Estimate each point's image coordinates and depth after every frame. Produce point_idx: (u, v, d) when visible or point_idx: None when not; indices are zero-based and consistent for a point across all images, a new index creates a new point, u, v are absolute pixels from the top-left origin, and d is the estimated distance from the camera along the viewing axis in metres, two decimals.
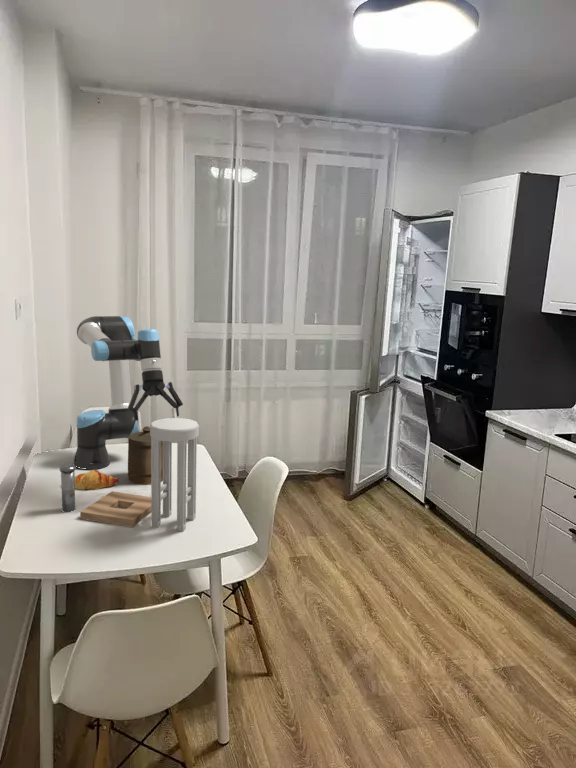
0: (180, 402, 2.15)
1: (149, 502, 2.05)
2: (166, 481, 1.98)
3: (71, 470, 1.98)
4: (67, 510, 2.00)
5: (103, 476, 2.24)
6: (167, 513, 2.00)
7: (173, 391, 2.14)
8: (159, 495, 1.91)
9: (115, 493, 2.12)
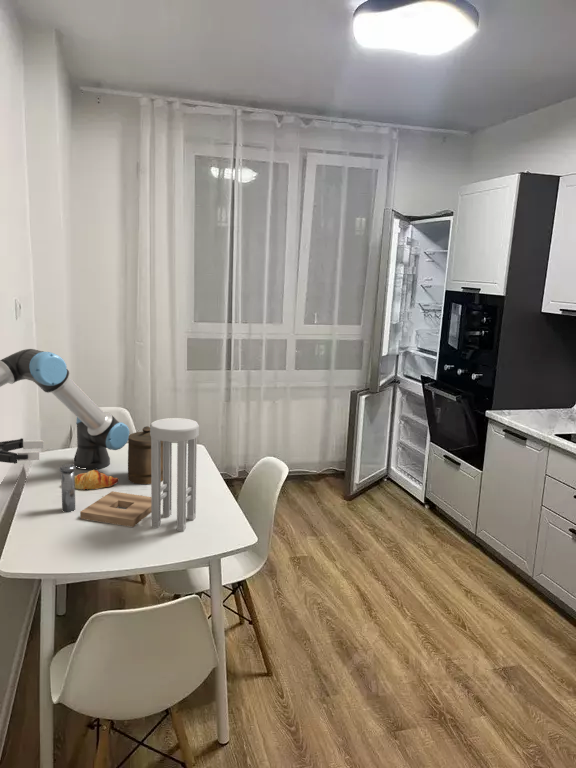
0: None
1: (149, 502, 2.05)
2: (166, 481, 1.98)
3: (71, 470, 1.98)
4: (67, 510, 2.00)
5: (103, 476, 2.23)
6: (167, 513, 2.00)
7: None
8: (159, 495, 1.91)
9: (115, 493, 2.12)
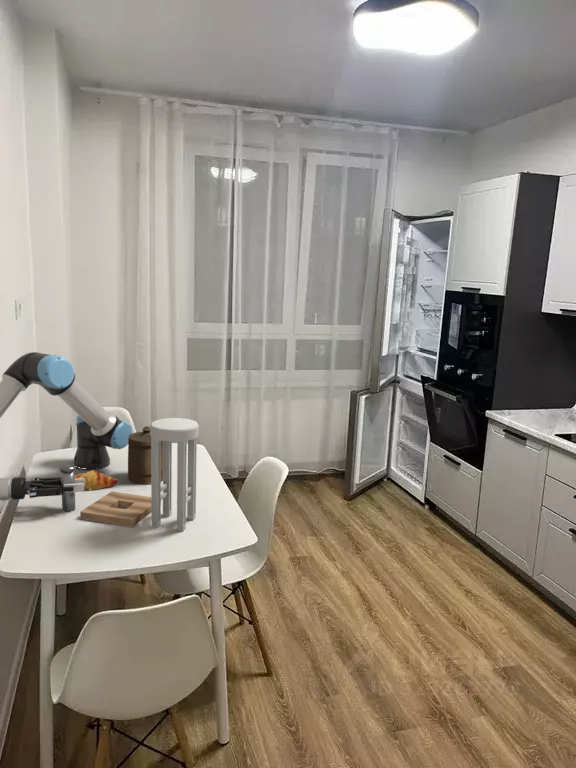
0: None
1: (149, 502, 2.05)
2: (166, 481, 1.98)
3: (71, 470, 1.98)
4: (67, 510, 2.00)
5: (102, 477, 2.23)
6: (167, 513, 2.00)
7: None
8: (159, 495, 1.91)
9: (115, 493, 2.12)
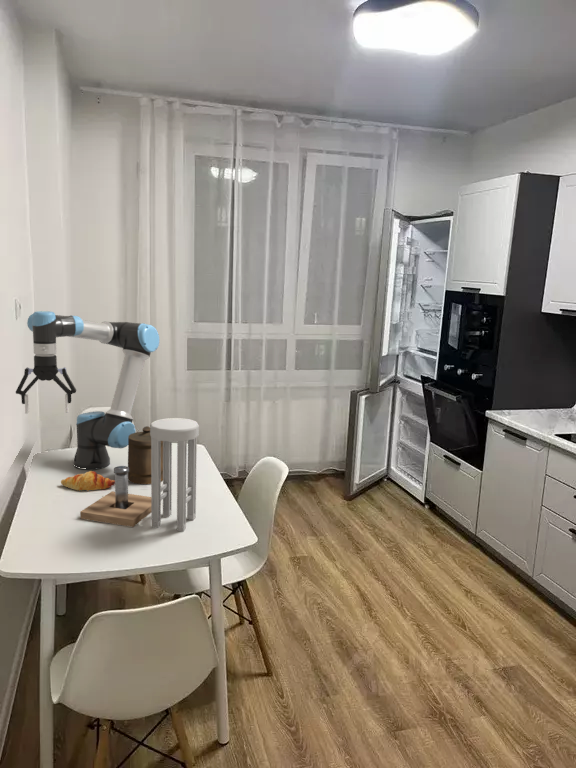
0: (73, 389, 2.09)
1: (149, 502, 2.05)
2: (166, 481, 1.98)
3: (125, 472, 1.98)
4: None
5: (99, 478, 2.21)
6: (167, 513, 2.00)
7: (66, 378, 2.08)
8: (159, 495, 1.91)
9: None
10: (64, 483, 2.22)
